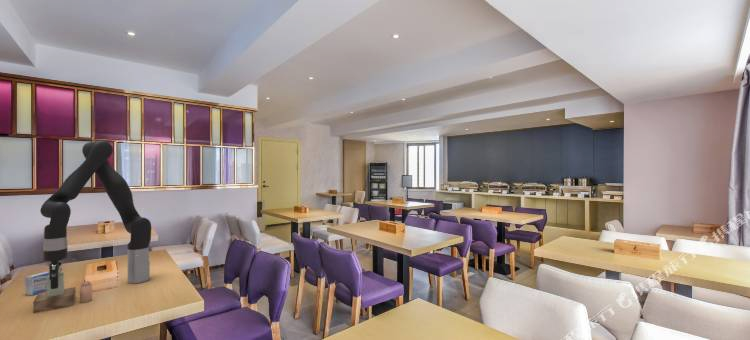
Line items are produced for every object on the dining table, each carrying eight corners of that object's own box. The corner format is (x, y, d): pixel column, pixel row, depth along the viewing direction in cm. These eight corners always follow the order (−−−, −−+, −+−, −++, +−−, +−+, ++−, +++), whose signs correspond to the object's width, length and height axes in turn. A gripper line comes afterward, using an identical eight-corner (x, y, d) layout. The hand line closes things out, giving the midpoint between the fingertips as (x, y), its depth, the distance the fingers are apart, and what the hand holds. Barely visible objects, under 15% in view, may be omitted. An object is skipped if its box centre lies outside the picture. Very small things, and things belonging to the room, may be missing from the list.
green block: (64, 290, 146) (64, 272, 146) (63, 294, 142) (63, 275, 142) (48, 293, 143) (48, 275, 143) (46, 297, 139) (46, 278, 139)
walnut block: (75, 298, 151) (75, 287, 151) (73, 306, 142) (73, 294, 142) (38, 304, 144) (38, 293, 144) (33, 314, 134) (33, 301, 134)
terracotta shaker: (92, 298, 150) (92, 279, 150) (91, 301, 146) (91, 281, 146) (80, 300, 147) (80, 280, 147) (79, 303, 144) (79, 283, 144)
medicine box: (32, 295, 153) (32, 277, 153) (24, 295, 154) (24, 276, 154) (51, 289, 161) (51, 271, 161) (44, 289, 162) (44, 271, 162)
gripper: (65, 249, 140) (65, 288, 140) (68, 244, 151) (68, 279, 151) (40, 252, 135) (40, 292, 135) (45, 246, 146) (45, 283, 146)
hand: (55, 285), depth 143 cm, fingers open, 8 cm apart
